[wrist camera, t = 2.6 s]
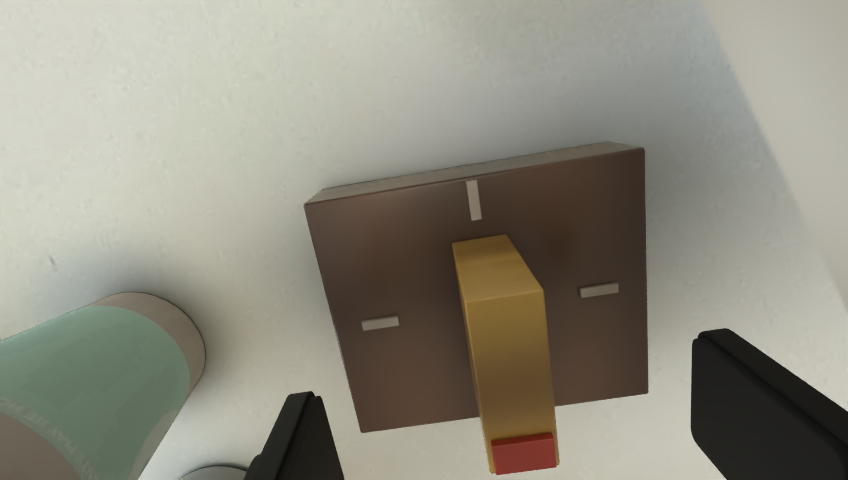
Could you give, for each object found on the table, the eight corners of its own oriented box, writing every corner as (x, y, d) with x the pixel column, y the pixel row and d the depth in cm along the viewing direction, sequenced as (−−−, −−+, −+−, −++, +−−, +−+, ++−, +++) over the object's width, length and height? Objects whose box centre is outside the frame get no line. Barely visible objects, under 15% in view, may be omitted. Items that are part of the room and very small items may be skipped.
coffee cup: (91, 432, 22) (-291, 801, 10) (20, 276, 19) (-590, 527, 8) (255, 412, 21) (56, 770, 10) (206, 250, 19) (-139, 473, 7)
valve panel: (609, 140, 17) (648, 147, 14) (617, 354, 20) (651, 396, 17) (321, 188, 18) (301, 204, 15) (369, 389, 21) (360, 437, 18)
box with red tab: (451, 242, 15) (464, 306, 10) (506, 233, 15) (546, 292, 10) (471, 372, 17) (491, 481, 12) (521, 365, 17) (562, 472, 12)
